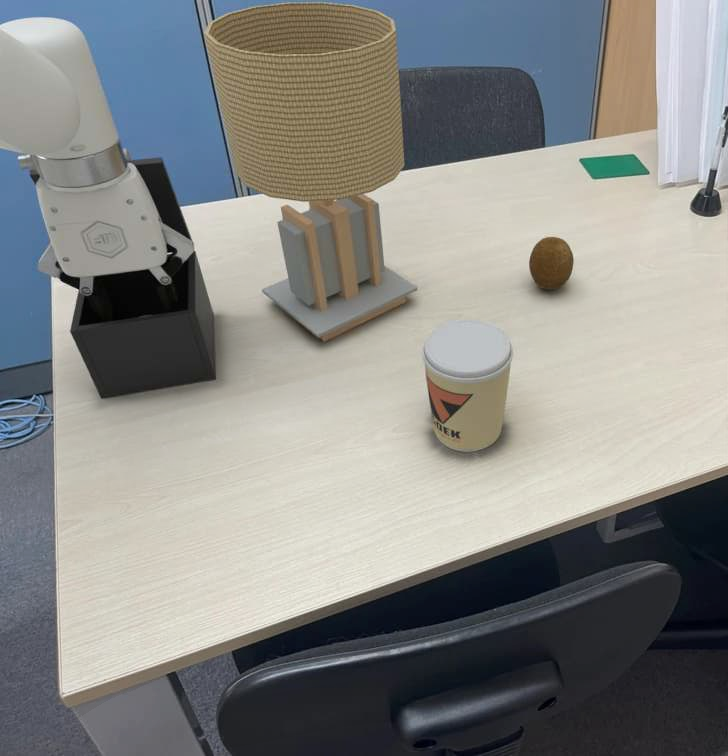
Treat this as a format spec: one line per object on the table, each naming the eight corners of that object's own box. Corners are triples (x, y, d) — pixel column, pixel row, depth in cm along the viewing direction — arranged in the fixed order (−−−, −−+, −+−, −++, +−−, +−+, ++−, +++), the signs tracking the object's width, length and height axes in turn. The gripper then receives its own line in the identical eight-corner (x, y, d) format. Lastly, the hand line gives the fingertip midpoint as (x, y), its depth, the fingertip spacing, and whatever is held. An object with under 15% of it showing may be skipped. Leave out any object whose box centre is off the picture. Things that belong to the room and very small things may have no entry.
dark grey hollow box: (216, 379, 85) (195, 312, 79) (101, 399, 82) (69, 331, 75) (213, 314, 95) (195, 250, 88) (110, 329, 91) (83, 264, 85)
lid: (162, 162, 75) (159, 130, 77) (29, 175, 72) (30, 141, 74) (194, 249, 88) (191, 220, 90) (82, 264, 85) (81, 233, 87)
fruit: (536, 271, 105) (540, 223, 100) (576, 281, 103) (582, 233, 98) (521, 293, 101) (524, 243, 96) (562, 304, 99) (567, 254, 94)
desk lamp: (358, 250, 108) (328, -7, 85) (442, 306, 98) (434, 31, 75) (241, 299, 97) (170, 21, 74) (321, 367, 87) (268, 70, 64)
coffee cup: (410, 420, 81) (404, 337, 73) (477, 388, 85) (478, 306, 77) (457, 470, 75) (455, 386, 67) (525, 434, 80) (532, 351, 72)
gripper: (-27, 188, 64) (50, 345, 76) (177, 168, 68) (220, 319, 80) (-10, 154, 69) (60, 306, 81) (178, 137, 74) (218, 284, 85)
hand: (139, 311), depth 80 cm, fingers open, 5 cm apart
